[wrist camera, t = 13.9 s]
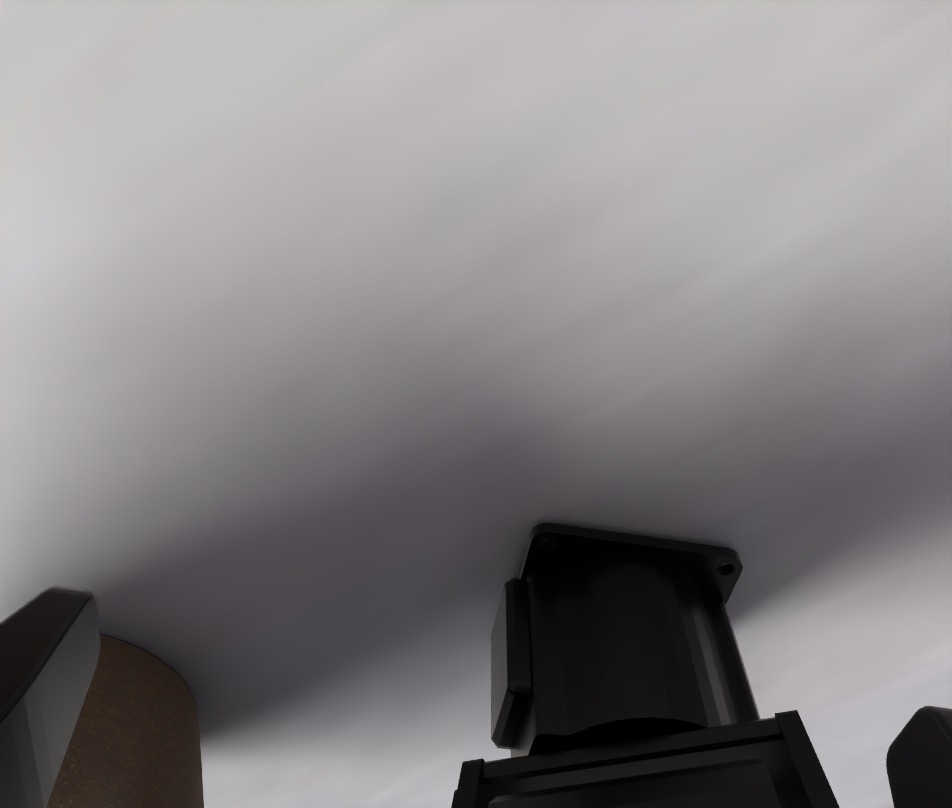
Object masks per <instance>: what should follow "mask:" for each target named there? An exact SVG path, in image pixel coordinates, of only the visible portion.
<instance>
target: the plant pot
mask: <svg viewBox="0 0 952 808" xmlns="http://www.w3.org/2000/svg"><path fill="white" fill-rule="evenodd" d="M45 808H204V801H203V784H202V763H201V750H200V738H199V726H198V717H197V709H196V705H195V701H194V699H193V696H192V694H191V692H190V691H189V689H188V687H187V686H186V685H185V683H184V682H183V680H182V679H181V678H180V677H179V676H178V675H177V674H176V673H175V672H174V671H173V670H172V669H170V668H169V667H168V666H167V665H166V664H164V663H163V662H162V661H160V660H159V659H157V658H156V657H154V656H152V655H151V654H149V653H147V652H146V651H144V650H141V649H139V648H137V647H135V646H132V645H130V644H128V643H126V642H123V641H120V640H117V639H114V638H110V637H106V636H101V635H100V653H99V658H98V662H97V665H96V668H95V671H94V674H93V677H92V680H91V682H90V685H89V688H88V691H87V694H86V696H85V699H84V702H83V705H82V708H81V711H80V713H79V716H78V719H77V722H76V725H75V727H74V730H73V733H72V736H71V739H70V741H69V744H68V747H67V750H66V753H65V755H64V758H63V761H62V764H61V767H60V769H59V772H58V775H57V778H56V781H55V784H54V786H53V789H52V792H51V794H50V797H49V800H48V802H47V805H46V807H45Z"/></svg>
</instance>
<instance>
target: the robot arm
mask: <svg viewBox="0 0 952 808" xmlns="http://www.w3.org/2000/svg"><path fill="white" fill-rule="evenodd" d="M545 538H550V539H553V540H551V541H547V542H544V541H542V540H543V539H545ZM724 563H729V564H727V565H725V566H720V565H722V564H724ZM742 568H743V566H742V563H741V560H740V558H739V555H738V553H737V552H736V551H735V550H733V549H730V548H724V547H717V546H710V545H703V544H696V543H689V542H682V541H674V540H667V539H660V538H653V537H646V536H639V535H632V534H625V533H618V532H610V531H603V530H596V529H589V528H582V527H575V526H568V525H561V524H553V523H543V524H539V525H537V526H536V527H534V528H533V529H532V531H531V533H530V536H529V540H528V543H527V547H526V551H525V554H524V558H523V561H522V565H521V569H520V572H519V576H518V578H511V579H510V580H509V581H507V582H506V583H505V586H504V589H503V593H502V597H501V600H500V604H499V608H498V612H497V615H496V619H495V623H494V627H493V630H492V635H491V739H492V741H493V742H494V743H495V745H496V746H497V747H498V748H503V749H511V758H507V759H501V760H494V761H488V762H485V761H484V759H478V760H471V761H465V762H463V763H462V768H461V773H460V779H459V784H458V789H457V790H455V792H454V797H453V802H452V807H451V808H839V805H838V803H837V801H836V798H835V796H834V794H833V792H832V789H831V787H830V785H829V782H828V780H827V778H826V776H825V773H824V771H823V769H822V766H821V764H820V762H819V759H818V757H817V755H816V753H815V750H814V748H813V746H812V743H811V741H810V739H809V737H808V734H807V732H806V730H805V727H804V725H803V723H802V721H801V718H800V716H799V714H798V711H797V710H794V711H788V712H781V713H775V717H773V718H767V719H760V716H759V713H758V710H757V706H756V703H755V700H754V697H753V693H752V690H751V687H750V684H749V680H748V677H747V674H746V671H745V667H744V664H743V661H742V658H741V654H740V651H739V648H738V645H737V641H736V638H735V635H734V632H733V628H732V625H731V622H730V619H729V615H728V612H727V609H726V606H725V605H726V603H727V601H728V599H729V597H730V595H731V593H732V591H733V589H734V586H735V584H736V582H737V580H738V578H739V576H740V574H741V572H742ZM99 653H100V633H99V623H98V613H97V602H96V598H95V595H94V594H93V592H92V591H90V590H87V589H80V588H73V587H65V586H53V587H50V588H47V589H46V590H44V591H43V592H41V593H40V594H38V595H37V596H36V597H34V598H33V599H32V600H30V601H29V602H28V603H26V604H25V605H24V606H22V607H21V608H20V609H18V610H17V611H15V612H14V613H13V614H11V615H10V616H9V617H7V618H6V619H5V620H3V621H2V622H1V623H0V808H45V807H46V805H47V802H48V800H49V797H50V794H51V792H52V789H53V786H54V784H55V781H56V778H57V775H58V772H59V769H60V767H61V764H62V761H63V758H64V755H65V753H66V750H67V747H68V744H69V741H70V739H71V736H72V733H73V730H74V727H75V725H76V722H77V719H78V716H79V713H80V711H81V708H82V705H83V702H84V699H85V696H86V694H87V691H88V688H89V685H90V682H91V680H92V677H93V674H94V671H95V668H96V665H97V662H98V658H99ZM886 767H887V774H888V779H889V784H890V789H891V793H892V798H893V803H894V808H952V709H948V708H941V707H933V706H925V707H923V708H920V709H919V710H918V711H917V712H916V713H915V714H914V715H913V717H912V718H911V719H910V721H909V722H908V723H907V724H906V726H905V727H904V728H903V730H902V731H901V732H900V734H899V735H898V736H897V737H896V739H895V740H894V741H893V743H892V744H891V746H890V747H889V750H888V753H887V759H886Z"/></svg>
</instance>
